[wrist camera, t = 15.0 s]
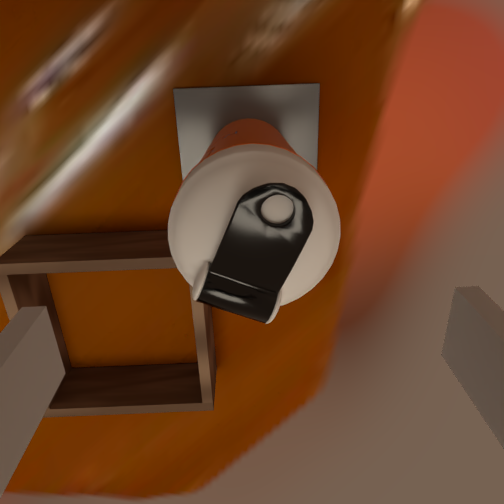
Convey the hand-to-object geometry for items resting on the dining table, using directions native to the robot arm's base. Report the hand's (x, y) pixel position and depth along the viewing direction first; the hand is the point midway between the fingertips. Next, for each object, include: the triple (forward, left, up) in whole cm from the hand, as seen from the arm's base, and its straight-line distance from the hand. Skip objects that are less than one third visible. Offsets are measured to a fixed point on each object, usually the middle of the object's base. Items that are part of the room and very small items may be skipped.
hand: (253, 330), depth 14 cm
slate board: (0, 0, -26) cm, 26 cm away
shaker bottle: (0, 0, -26) cm, 26 cm away
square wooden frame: (+15, -13, -26) cm, 33 cm away
